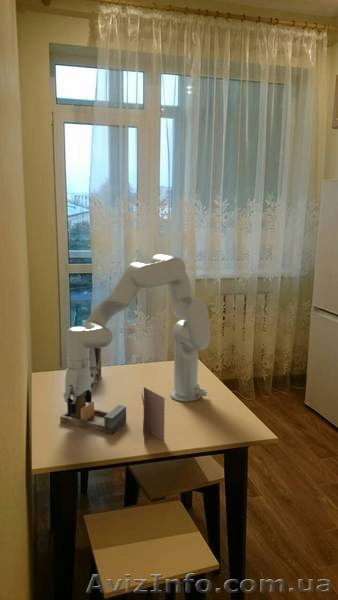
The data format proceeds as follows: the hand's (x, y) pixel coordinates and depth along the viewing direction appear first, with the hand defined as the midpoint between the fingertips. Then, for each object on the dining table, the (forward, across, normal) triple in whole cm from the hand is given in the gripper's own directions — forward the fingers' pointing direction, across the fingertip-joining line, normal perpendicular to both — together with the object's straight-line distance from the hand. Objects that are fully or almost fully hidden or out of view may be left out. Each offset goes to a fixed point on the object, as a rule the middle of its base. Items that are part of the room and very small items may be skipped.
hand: (79, 407), depth 155 cm
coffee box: (+5, -35, -16) cm, 39 cm away
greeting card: (+5, 0, +28) cm, 29 cm away
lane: (+5, 0, +6) cm, 7 cm away
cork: (+4, 0, 0) cm, 4 cm away
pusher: (+3, 0, +3) cm, 5 cm away
